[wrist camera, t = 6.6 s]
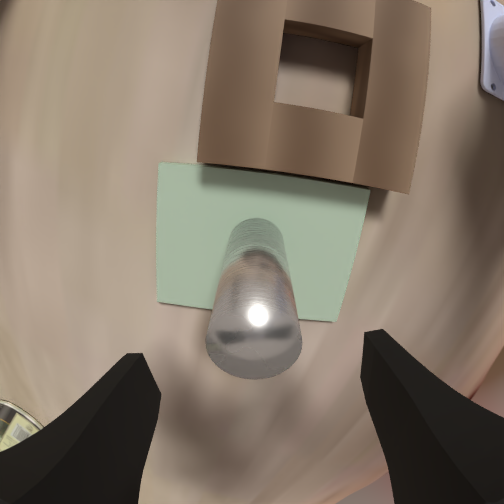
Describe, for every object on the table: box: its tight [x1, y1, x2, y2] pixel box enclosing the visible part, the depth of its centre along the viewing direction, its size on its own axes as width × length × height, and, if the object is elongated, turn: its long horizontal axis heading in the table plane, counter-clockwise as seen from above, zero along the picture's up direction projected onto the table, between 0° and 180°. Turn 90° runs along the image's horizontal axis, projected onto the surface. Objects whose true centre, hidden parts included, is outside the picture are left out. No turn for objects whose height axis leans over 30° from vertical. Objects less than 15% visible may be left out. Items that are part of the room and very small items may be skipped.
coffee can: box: [0, 400, 44, 452], centre depth 24 cm, size 10×10×14 cm
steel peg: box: [206, 218, 302, 379], centre depth 14 cm, size 3×3×9 cm
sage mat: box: [156, 162, 371, 322], centre depth 19 cm, size 12×9×1 cm
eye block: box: [197, 0, 431, 194], centre depth 14 cm, size 11×11×2 cm
